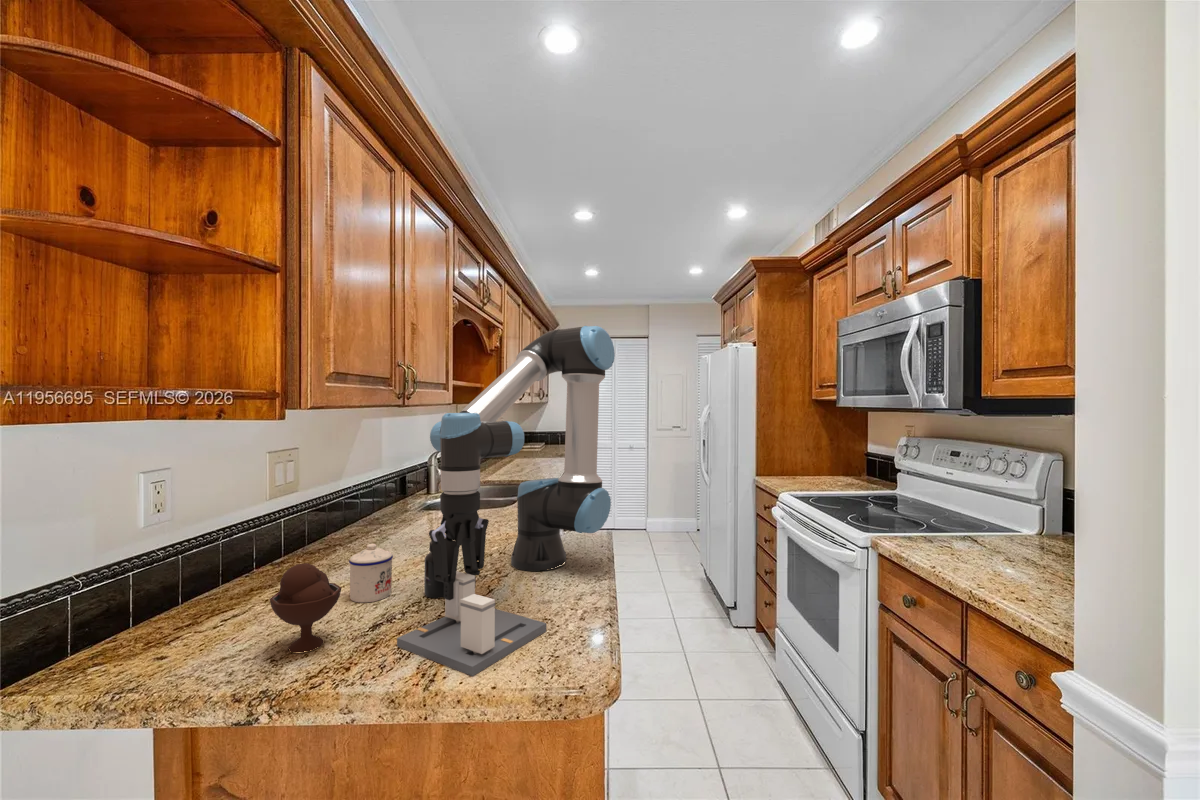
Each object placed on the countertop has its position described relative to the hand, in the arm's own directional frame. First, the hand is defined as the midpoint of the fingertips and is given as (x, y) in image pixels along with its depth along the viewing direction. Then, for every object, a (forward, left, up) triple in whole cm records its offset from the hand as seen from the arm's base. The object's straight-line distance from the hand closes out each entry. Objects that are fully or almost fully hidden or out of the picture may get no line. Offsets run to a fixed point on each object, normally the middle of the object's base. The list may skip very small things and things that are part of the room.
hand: (459, 611), depth 97 cm
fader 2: (+7, +12, -3) cm, 14 cm away
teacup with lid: (-2, -30, -3) cm, 31 cm away
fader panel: (+2, +6, -3) cm, 7 cm away
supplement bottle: (-10, -17, -3) cm, 20 cm away
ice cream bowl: (+20, -17, -3) cm, 27 cm away
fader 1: (0, 0, -3) cm, 3 cm away
